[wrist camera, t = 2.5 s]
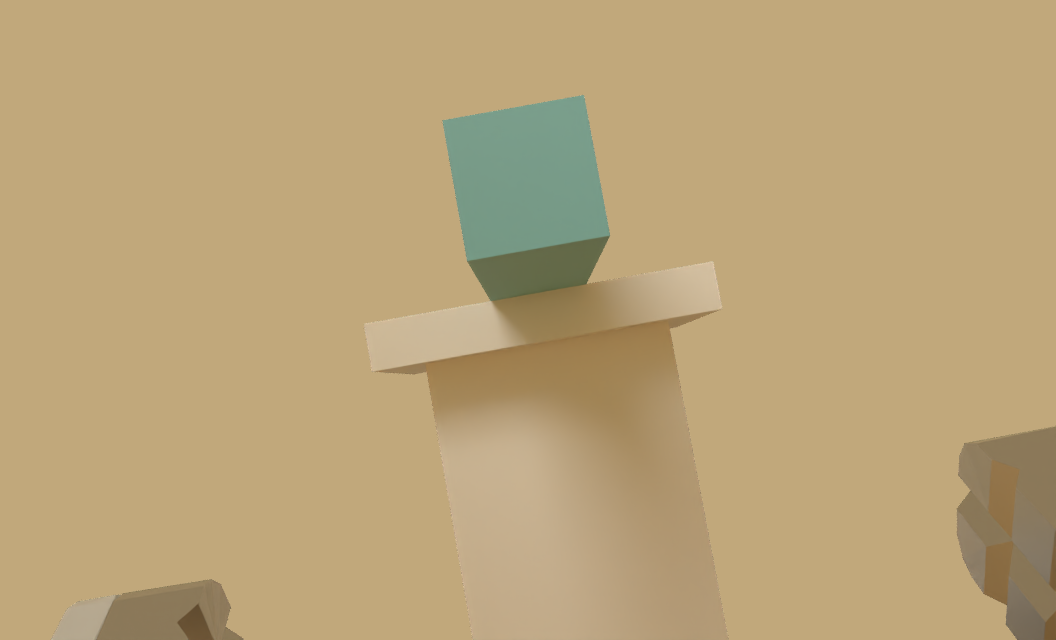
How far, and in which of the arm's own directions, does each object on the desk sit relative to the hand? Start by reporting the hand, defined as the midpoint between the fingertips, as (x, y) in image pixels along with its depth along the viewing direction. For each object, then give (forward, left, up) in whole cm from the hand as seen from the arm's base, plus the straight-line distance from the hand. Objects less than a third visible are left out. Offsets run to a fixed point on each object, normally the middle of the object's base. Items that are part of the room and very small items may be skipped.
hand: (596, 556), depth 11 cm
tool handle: (-17, +13, +5) cm, 22 cm away
